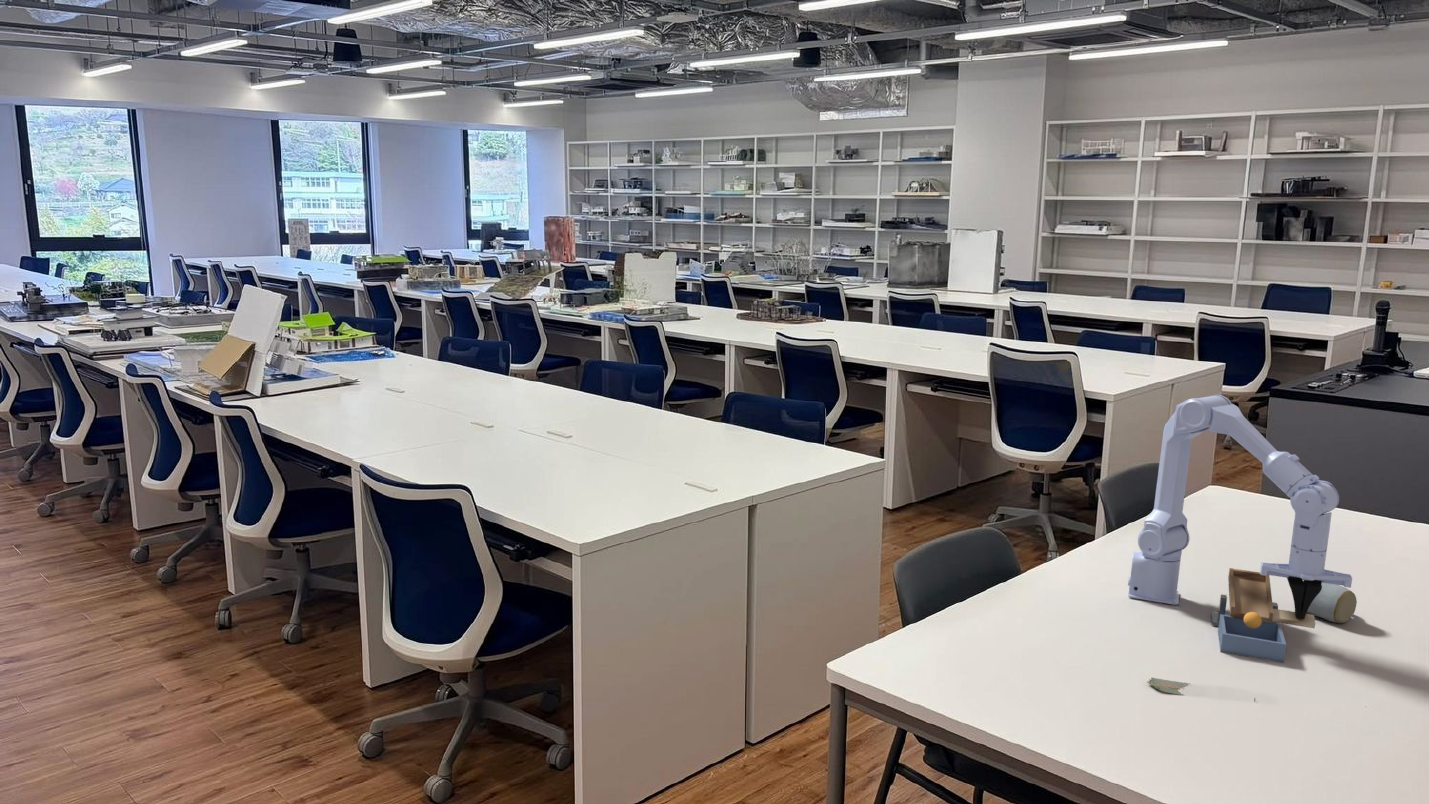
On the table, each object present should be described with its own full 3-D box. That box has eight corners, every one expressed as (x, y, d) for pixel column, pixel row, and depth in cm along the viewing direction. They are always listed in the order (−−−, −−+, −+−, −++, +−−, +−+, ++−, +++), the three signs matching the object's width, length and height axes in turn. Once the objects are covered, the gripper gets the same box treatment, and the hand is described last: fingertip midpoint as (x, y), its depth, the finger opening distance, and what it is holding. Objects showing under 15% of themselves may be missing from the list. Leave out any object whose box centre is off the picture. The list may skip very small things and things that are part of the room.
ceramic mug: (1335, 628, 197) (1341, 591, 195) (1294, 613, 204) (1299, 577, 202) (1365, 619, 202) (1371, 583, 201) (1324, 605, 209) (1329, 570, 208)
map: (1143, 680, 173) (1143, 675, 173) (1271, 693, 170) (1272, 688, 170) (1149, 694, 168) (1150, 688, 168) (1282, 708, 165) (1283, 702, 165)
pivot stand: (1212, 625, 197) (1215, 600, 196) (1211, 615, 202) (1214, 590, 201) (1282, 637, 192) (1285, 611, 191) (1279, 626, 197) (1282, 600, 196)
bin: (1220, 651, 185) (1222, 633, 184) (1217, 631, 194) (1220, 614, 193) (1283, 662, 181) (1286, 644, 180) (1278, 641, 190) (1280, 623, 189)
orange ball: (1244, 607, 188) (1242, 619, 190) (1244, 617, 186) (1242, 630, 187) (1262, 610, 187) (1260, 622, 188) (1263, 620, 185) (1260, 633, 186)
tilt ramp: (1228, 627, 192) (1231, 606, 191) (1226, 587, 204) (1229, 568, 202) (1312, 641, 187) (1316, 620, 185) (1305, 599, 198) (1309, 579, 197)
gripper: (1266, 547, 185) (1257, 617, 187) (1358, 559, 179) (1348, 631, 181) (1263, 536, 191) (1254, 604, 194) (1352, 548, 185) (1342, 618, 188)
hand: (1299, 616), depth 188 cm, fingers closed, pressing on tilt ramp
